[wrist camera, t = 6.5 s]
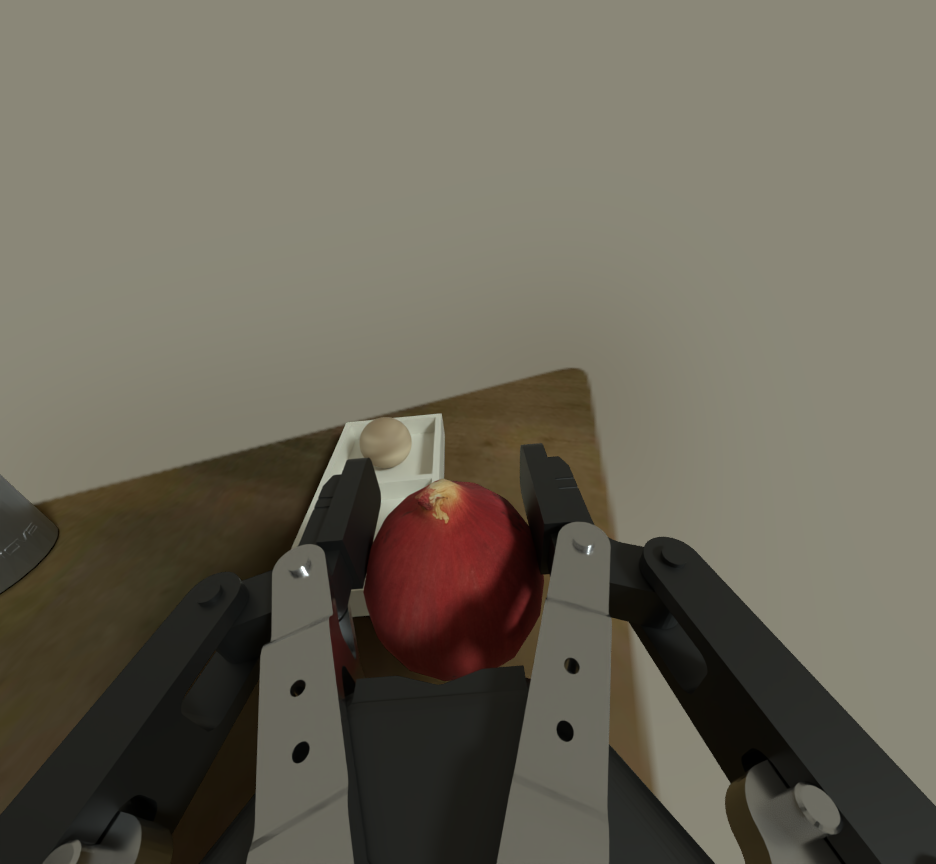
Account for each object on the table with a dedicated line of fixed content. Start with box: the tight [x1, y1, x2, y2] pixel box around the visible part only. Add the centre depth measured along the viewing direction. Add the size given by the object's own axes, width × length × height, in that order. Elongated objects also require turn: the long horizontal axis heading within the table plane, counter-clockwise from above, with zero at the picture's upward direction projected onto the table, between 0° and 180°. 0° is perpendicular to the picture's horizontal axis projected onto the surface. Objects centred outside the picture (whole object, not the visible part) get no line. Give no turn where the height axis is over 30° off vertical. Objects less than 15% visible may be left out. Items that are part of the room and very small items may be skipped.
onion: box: [363, 479, 544, 681], centre depth 12 cm, size 6×6×8 cm
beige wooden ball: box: [359, 417, 412, 468], centre depth 28 cm, size 4×4×4 cm
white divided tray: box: [291, 414, 445, 617], centre depth 26 cm, size 8×16×2 cm, turn 3°
